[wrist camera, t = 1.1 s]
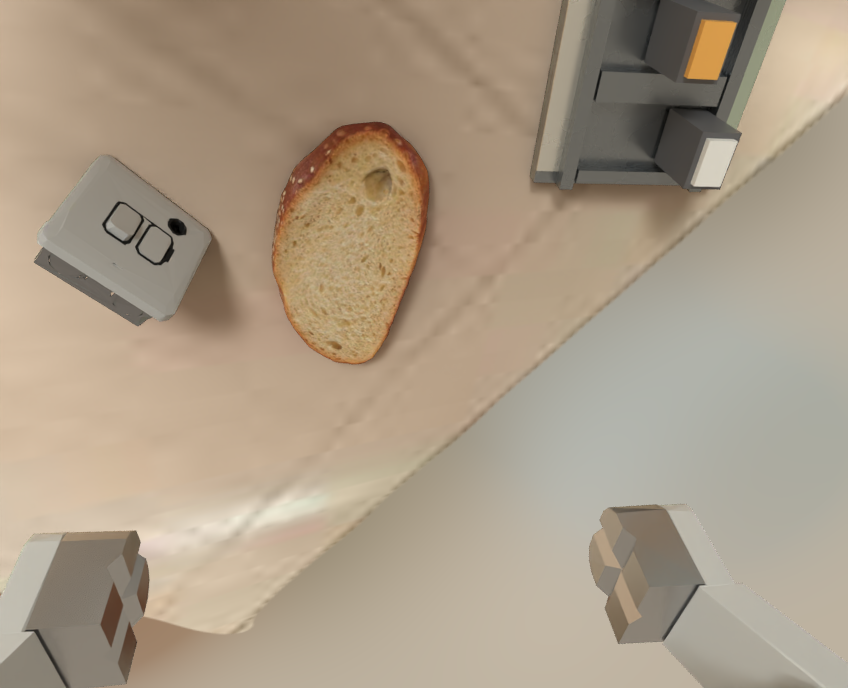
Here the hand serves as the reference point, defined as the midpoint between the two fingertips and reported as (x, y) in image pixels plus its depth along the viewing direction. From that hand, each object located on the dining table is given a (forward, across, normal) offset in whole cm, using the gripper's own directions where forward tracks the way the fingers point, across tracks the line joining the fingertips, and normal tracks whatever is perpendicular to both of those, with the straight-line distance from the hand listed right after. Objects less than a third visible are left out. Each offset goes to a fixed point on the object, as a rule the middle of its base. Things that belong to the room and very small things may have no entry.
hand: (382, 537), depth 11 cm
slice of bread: (+39, -1, +16) cm, 42 cm away
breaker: (+37, -25, +4) cm, 45 cm away
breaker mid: (+37, -22, -3) cm, 43 cm away
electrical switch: (+39, +15, +13) cm, 43 cm away
